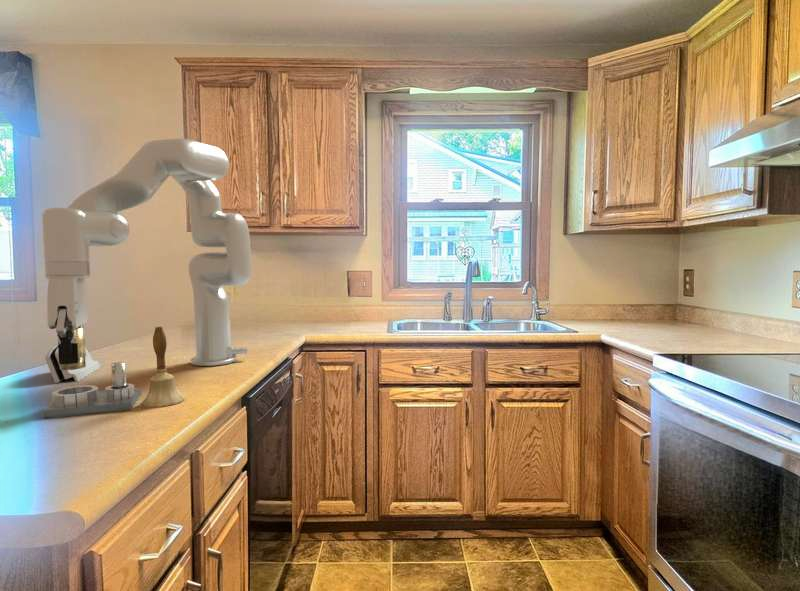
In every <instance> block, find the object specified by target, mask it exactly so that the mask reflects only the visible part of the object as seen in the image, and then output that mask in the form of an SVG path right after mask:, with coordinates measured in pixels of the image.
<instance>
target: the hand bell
mask: <svg viewBox="0 0 800 591" xmlns="http://www.w3.org/2000/svg"><path fill="white" fill-rule="evenodd" d="M153 332H154V333H153V335H152V336H153V337H152V345H153V346H152V347H153V350H154V353H155V355H156V356H155V357H156V369H157V370H156V372H157V373H156V374H155V375H153V376H152V377H151V378H150V382H149V389H148V392H147V395H146V397H145V398H144V399H143V400H142V402H141V406H142V407H145V406H147V407H146V408H163V407H164V406H165V407H169V406H174V405H177V404H180V403H182V402H184V401H185V399H186V398H185V395H183V394H182V393H181V392H180V390H178V388H177V385H176V383H175V376H174V375H173V374H171V373H168V372H167V367H166V357H165V356H166V352H167V344H168V343H167V336H166V333H165V331H164V329H163V326H155V329H154V331H153Z"/></svg>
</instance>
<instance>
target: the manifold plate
mask: <svg viewBox="0 0 800 591" xmlns="http://www.w3.org/2000/svg"><path fill="white" fill-rule="evenodd" d="M126 364H127V363H126V362H125V361H117V362H111V364H110V365H111V366H110V367H111V385H109V386H106V387H105V388H104V390H99V386H96V385H91V384H90V385H86V384H84V385H76V386H74V385H73V386H68V387H64V388H60V389H56V390H54V391H53V392H51V403H50V404H49V405H48V406H46V407H45V408H43V410H42V418H43V419H49V418H59V417H60V418H62V417H71V416H83V415H95V414H104V413H103V412H105V413H115V412H124V411H123V410H126V411H132V410H133V408H134V407H135V405H136V404H137V402H136V401H138V400H139V399H140V397H141V395H142V388H141V387H136V388H135V385H134V384H133V383H127V368H126V366H127V365H126ZM139 396H140V397H139ZM138 398H139V399H138ZM133 406H134V407H133ZM131 409H132V410H131Z"/></svg>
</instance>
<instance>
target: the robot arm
mask: <svg viewBox="0 0 800 591" xmlns="http://www.w3.org/2000/svg"><path fill="white" fill-rule="evenodd" d="M229 169H230V163H229V159H228V157H227V155H226V153H225V152H224V151H223V150H222V149H221V148H220V147H218V146H214V145H211V144H207V143H205V142H204V143H203V142H201V141H196V140H192V139H189V138H182V137H181V138H180V137H178V138H177V137H176V138H167V139H155V140H151V141H148V142H146V143H144V144H143V145H142V146H141V147H140V148H139V150H138V151H137V152H135V154H134V155H133V156H132V157H131V158H130V159H129V160H128V162H126V164H125V165H124V166H123V167H122V168H121V169H120V170H119V171H118V172H117V173H116V174H115V175H113V176H111V177H108V179H105V180H104V181H103V180H102V182H100V183H98V184H97V185H95V186H93V187H91V188H89V189H88V190H87V191H85V192H83V193H82V194H80V195H79V196H78V197H77V198H75V200H73V201H72V203H71V204H69V206H68V207H48V208H46V209H44V211H43V212H42V215H41V216H42V217H41V219H42V238H43V253H44V255H43V257H44V273H45V279H47V280H48V284H47V294H46V295H47V297H46V298H47V300H46V303H47V305H46V308H47V309H46V310H47V312H46V313H47V315H46V316H47V320H46V321H47V322H46V323H47V328H49V329H50V330H55V329H56V330H55V331H56V333H57V345H58V352H59V364H75V363H78V362H79V359H78V343H75V342H76V328H77V327H83V328H84V329H85V327H84V325H85V324H87V322H88V320H89V306H88V305H89V303H88V291H87V282H86V278H87V279H88V278H89V279H90V278H91V263H90V247H112V246H113V247H114V246H117V245H120V244H122V243H123V242H124V241H126V239H127V238H129V234H130V226H129V222H128V220H126V218H125V216H123V215H122V214H120V212H122V211H125V210H129V209H132V208H136V207H138V206H140V205H143V204H144V203H147V202H148V201H150V200H151V199H152V198H153V196H155V194H156V193H157V192H158V190H159V189H160V187H161V186H162V185H163V184H164V182H165V181H166V180H167V179H168V178H169V177H171V178H172V179H174V181H176V182H177V184H179V186H180V187H181V189H183V191H184V193H185V194H186V198H187V200H188V208H189V221H190V231H191V238H192V241H193V243H194V244H195V245H196V246H198V247H201V248H212V249H213V248H216V249H217V248H218V249H219V248H225V250H226V252H222V251H215V252H214V251H213V252H212V251H211V252H208V251H207V252H201V253H198V254H196V255H194V256H193V257H192V258H191V259H190V261H189V263H188V274H189V278H190V283H191V287H192V293H193V294H192V295H193V312H194V313H193V314H194V316H193V317H194V337H195V338H194V339H195V356H194V357H191V358H190V364H191V365H192V366H200V367H204V366H205V367H209V366H210V367H211V366H221V365H228V364H231V363H234V362H236V361H237V360H238V359H237V358H238V356H237V355H247V354H248V347H246V346H245V347H243V346H240V347H235V346H233V343H231V341H232V340H231V318H230V316H231V315H230V314H231V313H230V299H229V296H228V294H227V292H226V290H225V288H224V287H239V286H240V287H241V286H244V285H246V284H247V283H248V282H249V281H250V279H251V277H252V271H253V270H252V253H251V238H250V237H251V236H250V229H249V226H248V222H247V221H246V219H245V218H244V217H243V216H242V215H240V214H239V213H234V212H225V213H224V212H223V209H222V201H221V195H220V192H219V190H218V188H217V187H216V186H215V184H214V183H213V182H212V181H218V180H221V179H223V178H225V177H226V175H227V174H228V173H229ZM69 331H71V335H70V332H69ZM84 343H85V344H86V341H85V338H84ZM85 357H86V355H85Z"/></svg>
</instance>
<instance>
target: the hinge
mask: <svg viewBox="0 0 800 591" xmlns="http://www.w3.org/2000/svg"><path fill="white" fill-rule="evenodd" d="M85 355H86V357H85V362H86V367H84V368H81V369H75V370H60V364H59V352H58V344H56V345H55V346H53V347H52V348H51V349H50V350H49V351H48V352H47V353H46V355H45V356H44V357H45V358H44V359H45V361H46V364H47V367H48V369H49V372H50V374H51V376H52V379H53V381H54V383H55V384H57V383H60V382H61V381H64V380H68V379H71V378H73V379H74V381H75V382H79V381H81V380H83V379H84V378H86V377H88V376H89V375H91V374H92V373H94V372H95V371H94V370H96V369H97V370H99V369H100V368H101V365H100V362H99V361H98V360H94V359H93V358H92V356H91V355H90V353H89V351H88V349H87V347H86V346H85ZM99 367H100V368H99ZM98 368H99V369H98ZM97 370H96V371H97ZM93 371H94V372H93ZM91 372H92V373H91ZM90 373H91V374H90ZM88 374H89V375H88ZM85 376H86V377H85ZM80 379H81V380H80Z"/></svg>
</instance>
